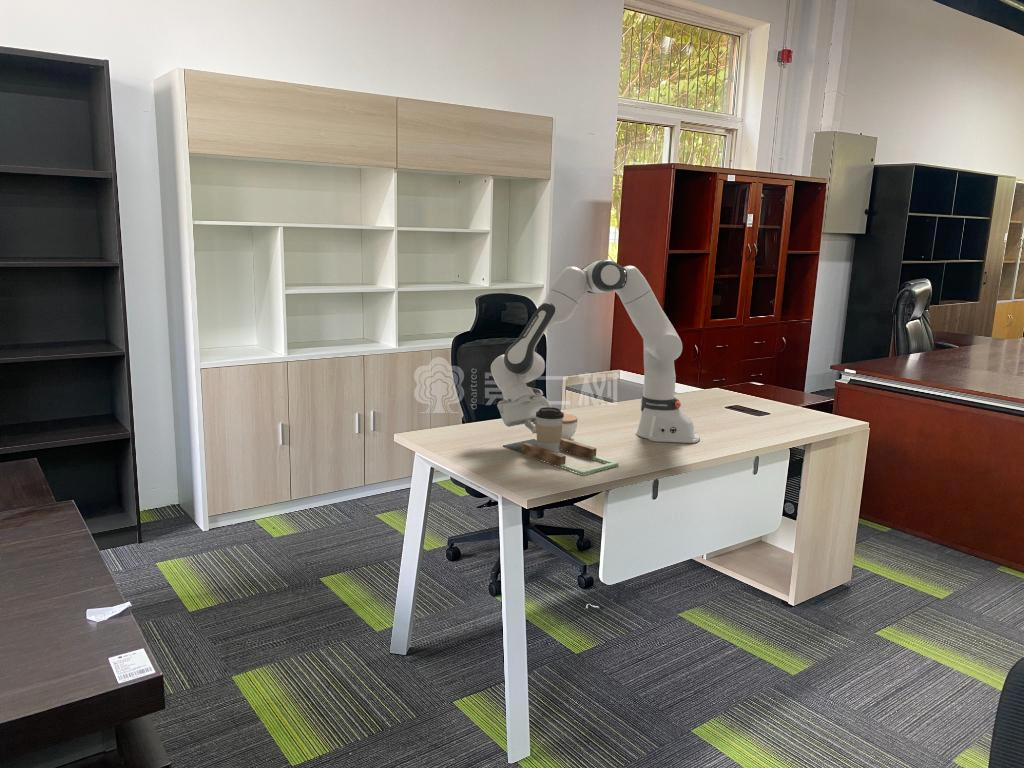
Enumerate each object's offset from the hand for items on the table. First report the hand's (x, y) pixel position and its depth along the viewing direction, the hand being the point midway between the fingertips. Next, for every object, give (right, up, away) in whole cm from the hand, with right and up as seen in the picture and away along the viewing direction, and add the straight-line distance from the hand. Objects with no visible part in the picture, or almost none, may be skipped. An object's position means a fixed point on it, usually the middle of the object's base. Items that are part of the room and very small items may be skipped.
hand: (537, 432), depth 249 cm
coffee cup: (+3, -7, -3) cm, 8 cm away
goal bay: (+15, -10, -16) cm, 24 cm away
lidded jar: (+9, -3, +15) cm, 18 cm away
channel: (+7, -7, -7) cm, 12 cm away
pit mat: (-3, -5, +4) cm, 7 cm away
